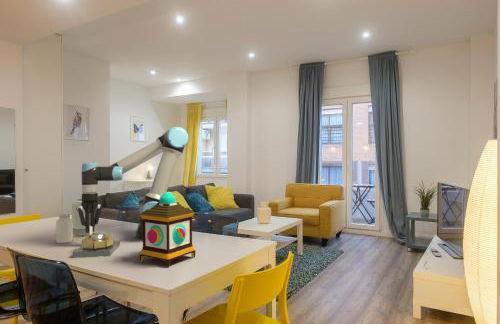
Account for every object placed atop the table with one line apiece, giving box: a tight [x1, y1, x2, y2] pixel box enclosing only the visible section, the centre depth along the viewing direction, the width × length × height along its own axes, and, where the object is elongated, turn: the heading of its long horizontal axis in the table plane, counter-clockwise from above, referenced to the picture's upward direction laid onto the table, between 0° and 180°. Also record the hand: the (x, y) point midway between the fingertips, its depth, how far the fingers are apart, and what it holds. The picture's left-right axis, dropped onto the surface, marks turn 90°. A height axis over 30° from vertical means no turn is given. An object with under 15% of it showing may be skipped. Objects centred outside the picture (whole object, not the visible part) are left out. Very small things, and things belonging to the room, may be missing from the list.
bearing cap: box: [72, 232, 121, 259], centre depth 164 cm, size 16×20×8 cm
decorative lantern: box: [138, 191, 196, 268], centre depth 149 cm, size 20×20×30 cm
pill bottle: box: [55, 213, 74, 244], centre depth 184 cm, size 8×8×15 cm
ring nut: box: [81, 232, 114, 249], centre depth 167 cm, size 22×13×4 cm, turn 32°
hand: (89, 238), depth 172 cm, fingers closed
